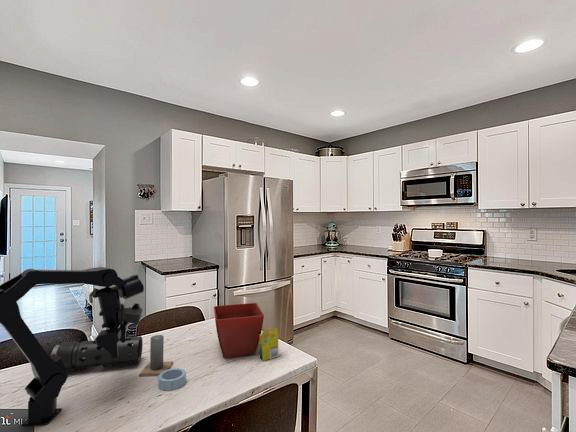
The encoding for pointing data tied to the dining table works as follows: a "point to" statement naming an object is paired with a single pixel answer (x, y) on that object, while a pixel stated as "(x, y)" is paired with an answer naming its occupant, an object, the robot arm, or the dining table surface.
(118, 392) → the dining table surface
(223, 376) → the dining table surface
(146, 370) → the mat
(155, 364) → the plug
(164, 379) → the collar
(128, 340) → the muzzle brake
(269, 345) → the crayon box
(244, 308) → the plant pot
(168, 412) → the dining table surface
